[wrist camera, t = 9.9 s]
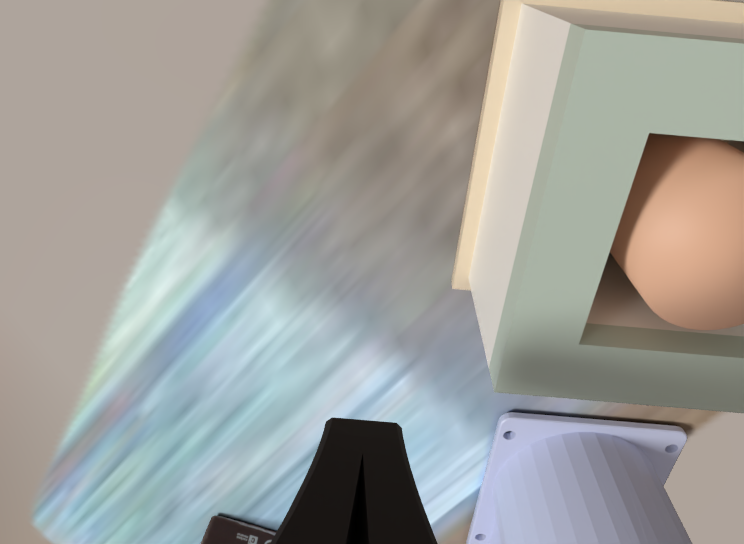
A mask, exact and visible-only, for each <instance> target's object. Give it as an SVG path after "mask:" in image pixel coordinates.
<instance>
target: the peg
mask: <svg viewBox="0 0 744 544" xmlns="http://www.w3.org/2000/svg"><path fill="white" fill-rule="evenodd" d="M610 253H611V254H612V256H613V257H614V259H615V260H616V261H617V263H618V264H619V266H620V267H621V268H622V270H623V271H624V273H625V274H626V275H627V277H628V278H629V280H630V281H631V282H632V284H633V285H634V287H635V288H636V289H637V291H638V292H639V294H640V295H641V296H642V298H643V299H644V301H645V302H646V303H647V305H648V306H649V307H650V308H651V309H652V311H653V312H654V313H656V314H657V315H658V316H659V317H661V318H662V319H664V320H665V321H667V322H669V323H671V324H674V325H676V326H679V327H683V328H687V329H694V330H717V329H724V328H730V327H734V326H738V325H741V324H744V153H743V152H742V151H740V150H738V149H736V148H735V147H733V146H731V145H729V144H728V143H726V142H724V141H722V140H721V139H712V138H701V137H689V136H678V135H667V134H655V133H649V135H648V138H647V141H646V144H645V147H644V150H643V153H642V156H641V159H640V162H639V165H638V168H637V171H636V174H635V177H634V180H633V183H632V186H631V189H630V192H629V195H628V198H627V201H626V204H625V207H624V210H623V213H622V216H621V219H620V222H619V225H618V228H617V231H616V234H615V237H614V240H613V243H612V246H611V249H610Z"/></svg>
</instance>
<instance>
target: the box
mask: <svg viewBox="0 0 744 544" xmlns="http://www.w3.org/2000/svg"><path fill="white" fill-rule="evenodd" d="M275 534H276V531H272V530H268V529H264V528H262V527H259V526H256V525H253V524H247V523H245V522H241V521H236V520H232V519H230V518H225V517H221V516H213V517H212V518H211V520H210V522H209V525H208V527H207V529H206V532H205V535H204V537H203V539H202V542H201V544H270V543H271V541H272V539H273V537H274V536H275Z"/></svg>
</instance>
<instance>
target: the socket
mask: <svg viewBox="0 0 744 544" xmlns="http://www.w3.org/2000/svg"><path fill="white" fill-rule="evenodd" d="M649 133H655V134H667V135H678V136H689V137H701V138H712V139H721V140H722V141H724V142H726V143H728V144H729V145H731V146H733V147H735V148H736V149H738V150H740V151H742V152H743V153H744V3H743V2H732V1H721V0H501V3H500V9H499V14H498V20H497V26H496V31H495V37H494V43H493V48H492V54H491V60H490V65H489V71H488V77H487V82H486V88H485V94H484V99H483V105H482V111H481V116H480V122H479V128H478V133H477V139H476V145H475V150H474V156H473V162H472V168H471V173H470V179H469V185H468V190H467V196H466V202H465V207H464V213H463V219H462V224H461V230H460V236H459V241H458V247H457V253H456V258H455V264H454V270H453V275H452V281H451V282H452V288H453V289H461V290H471V292H472V296H473V300H474V305H475V309H476V314H477V318H478V322H479V327H480V331H481V336H482V340H483V345H484V349H485V353H486V358H487V362H488V367H489V371H490V375H491V380H492V384H493V389H494V392H497V393H509V394H521V395H533V396H545V397H557V398H569V399H580V400H592V401H604V402H616V403H628V404H640V405H652V406H664V407H676V408H688V409H700V410H712V411H724V412H735V413H744V324H741V325H738V326H734V327H730V328H724V329H717V330H694V329H687V328H683V327H679V326H676V325H674V324H671V323H669V322H667V321H665V320H664V319H662V318H661V317H659V316H658V315H657V314H656V313H654V312H653V311H652V309H651V308H650V307H649V306H648V305H647V303H646V302H645V301H644V299H643V298H642V296H641V295H640V294H639V292H638V291H637V289H636V288H635V287H634V285H633V284H632V282H631V281H630V280H629V278H628V277H627V275H626V274H625V273H624V271H623V270H622V268H621V267H620V266H619V264H618V263H617V261H616V260H615V259H614V257H613V256H612V254H611V253H610V249H611V246H612V243H613V240H614V237H615V234H616V231H617V228H618V225H619V222H620V219H621V216H622V213H623V210H624V207H625V204H626V201H627V198H628V195H629V192H630V189H631V186H632V183H633V180H634V177H635V174H636V171H637V168H638V165H639V162H640V159H641V156H642V153H643V150H644V147H645V144H646V141H647V138H648V135H649Z"/></svg>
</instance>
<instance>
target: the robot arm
mask: <svg viewBox="0 0 744 544" xmlns="http://www.w3.org/2000/svg"><path fill="white" fill-rule="evenodd" d="M507 431H512V432H510V433H505V432H507ZM686 441H687V435H686V433H685V431H684V430H683V429H682V428H681V427H678V426H671V425H659V424H647V423H635V422H623V421H611V420H599V419H587V418H575V417H563V416H551V415H539V414H527V413H515V412H509V413H506V414H503V415H502V416H501V417H500V418H499V421H498V424H497V428H496V432H495V436H494V440H493V443H492V447H491V451H490V455H489V458H488V462H487V466H486V470H485V474H484V477H483V481H482V485H481V489H480V492H479V496H478V500H477V504H476V508H475V511H474V515H473V519H472V523H471V526H470V530H469V534H468V538H467V541H466V544H692V542H691V540H690V538H689V536H688V534H687V532H686V530H685V528H684V527H683V524H682V522H681V521H680V519H679V517H678V515H677V513H676V511H675V509H674V507H673V505H672V503H671V501H670V499H669V497H668V495H667V493H666V491H665V489H664V487H663V486H664V484H665V482H666V480H667V478H668V476H669V474H670V472H671V470H672V468H673V466H674V464H675V462H676V461H677V458H678V456H679V455H680V453H681V451H682V449H683V447H684V445H685V443H686ZM270 544H437V541H436V539H435V536H434V534H433V531H432V529H431V526H430V523H429V521H428V518H427V515H426V513H425V510H424V507H423V505H422V502H421V499H420V496H419V493H418V490H417V487H416V484H415V481H414V478H413V475H412V471H411V468H410V464H409V461H408V457H407V453H406V449H405V444H404V440H403V434H402V428H401V427H400V426H399V425H398V424H397V423H391V422H379V421H367V420H355V419H343V418H331V419H330V420H328V421H326V424H325V428H324V432H323V435H322V438H321V441H320V444H319V447H318V449H317V452H316V454H315V457H314V459H313V462H312V464H311V466H310V468H309V471H308V473H307V475H306V477H305V479H304V481H303V483H302V485H301V487H300V489H299V491H298V493H297V495H296V497H295V499H294V501H293V503H292V505H291V507H290V509H289V511H288V513H287V515H286V517H285V518H284V520H283V522H282V524H281V525H280V527H279V529H278V531H277V532H276V534H275V536H274V537H273V539H272V541H271V543H270Z"/></svg>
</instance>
